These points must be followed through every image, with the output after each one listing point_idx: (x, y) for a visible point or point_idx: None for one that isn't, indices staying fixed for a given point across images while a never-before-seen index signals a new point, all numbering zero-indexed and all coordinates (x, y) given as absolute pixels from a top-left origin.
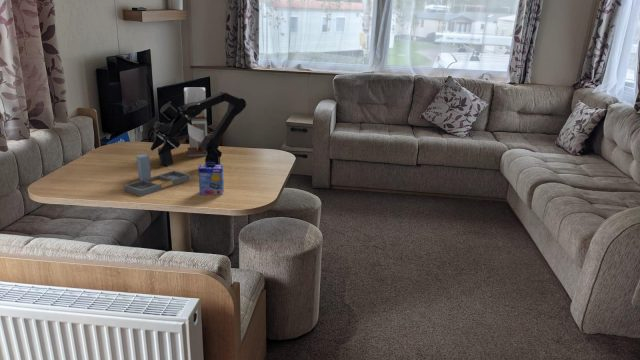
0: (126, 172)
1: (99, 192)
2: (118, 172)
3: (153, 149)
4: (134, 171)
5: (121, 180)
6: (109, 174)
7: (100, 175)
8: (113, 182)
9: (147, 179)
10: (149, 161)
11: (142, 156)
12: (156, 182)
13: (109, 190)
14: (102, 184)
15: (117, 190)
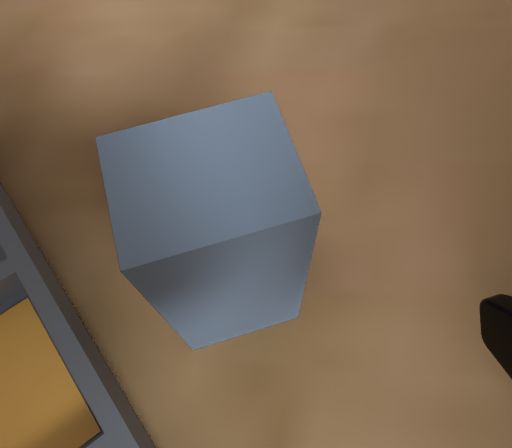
0: (456, 150)
1: (34, 19)
2: (461, 98)
3: (507, 365)
4: (482, 210)
5: None
6: (413, 48)
7: (396, 4)
8: (211, 77)
9: (32, 302)
10: (145, 296)
11: (168, 166)
12: (11, 397)
13: (45, 64)
14: (189, 24)
15: (20, 105)
